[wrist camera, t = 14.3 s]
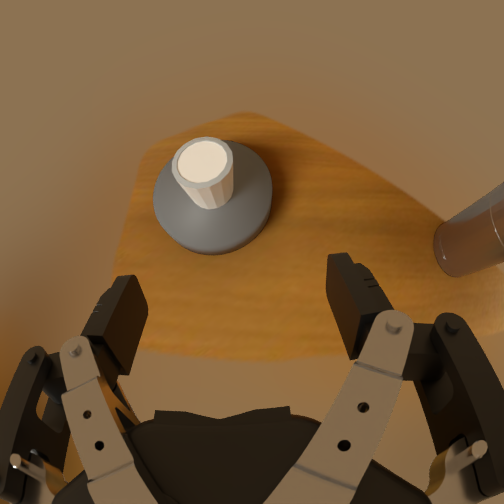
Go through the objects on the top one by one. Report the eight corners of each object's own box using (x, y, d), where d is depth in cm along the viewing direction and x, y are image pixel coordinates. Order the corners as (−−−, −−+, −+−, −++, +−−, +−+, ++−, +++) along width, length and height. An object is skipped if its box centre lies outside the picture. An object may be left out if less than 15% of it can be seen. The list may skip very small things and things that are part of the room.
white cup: (192, 221, 34) (177, 197, 27) (181, 176, 36) (166, 147, 29) (245, 204, 34) (241, 176, 27) (229, 161, 36) (223, 129, 29)
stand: (269, 153, 41) (269, 137, 37) (273, 253, 37) (274, 245, 33) (168, 159, 41) (161, 145, 37) (158, 256, 37) (147, 249, 33)
